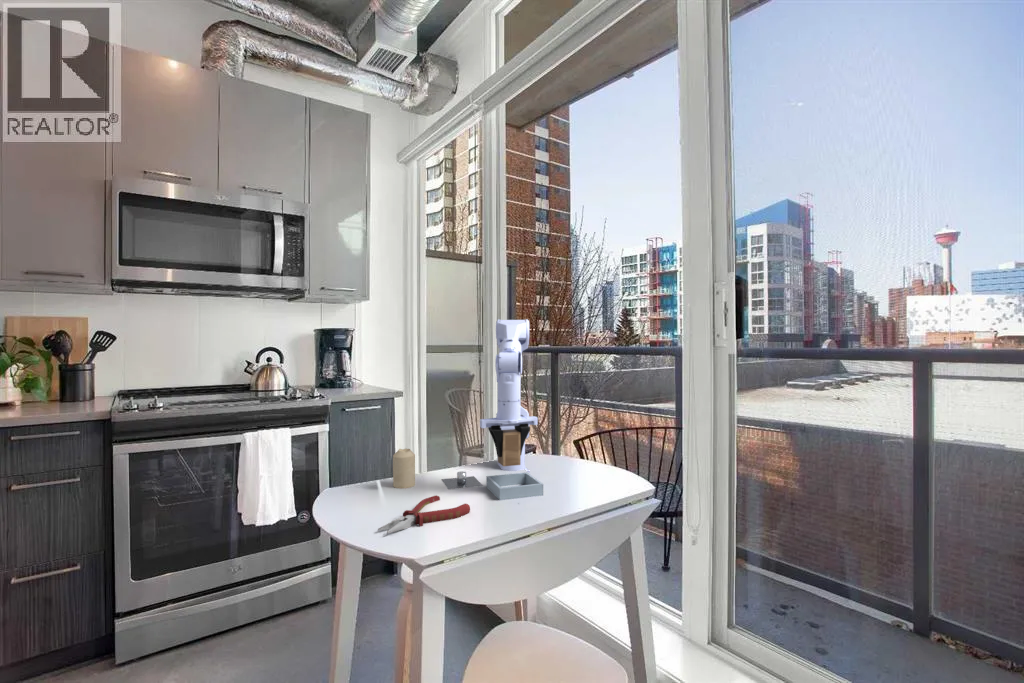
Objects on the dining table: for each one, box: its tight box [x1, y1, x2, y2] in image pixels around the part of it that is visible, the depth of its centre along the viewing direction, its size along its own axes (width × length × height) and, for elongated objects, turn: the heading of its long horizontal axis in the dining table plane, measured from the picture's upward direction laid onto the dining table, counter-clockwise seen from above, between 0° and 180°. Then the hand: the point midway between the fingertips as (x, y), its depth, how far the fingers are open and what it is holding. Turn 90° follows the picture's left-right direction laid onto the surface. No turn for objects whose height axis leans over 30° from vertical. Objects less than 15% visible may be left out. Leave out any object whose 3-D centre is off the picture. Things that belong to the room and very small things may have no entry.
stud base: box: [441, 471, 484, 490], centre depth 130 cm, size 9×9×3 cm
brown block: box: [498, 429, 520, 466], centre depth 123 cm, size 4×4×8 cm
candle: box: [392, 448, 416, 489], centre depth 127 cm, size 6×6×10 cm
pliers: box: [377, 494, 471, 534], centre depth 105 cm, size 12×20×3 cm, turn 143°
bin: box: [485, 471, 544, 501], centre depth 122 cm, size 11×11×4 cm
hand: (509, 455), depth 123 cm, fingers closed on brown block, 4 cm apart
